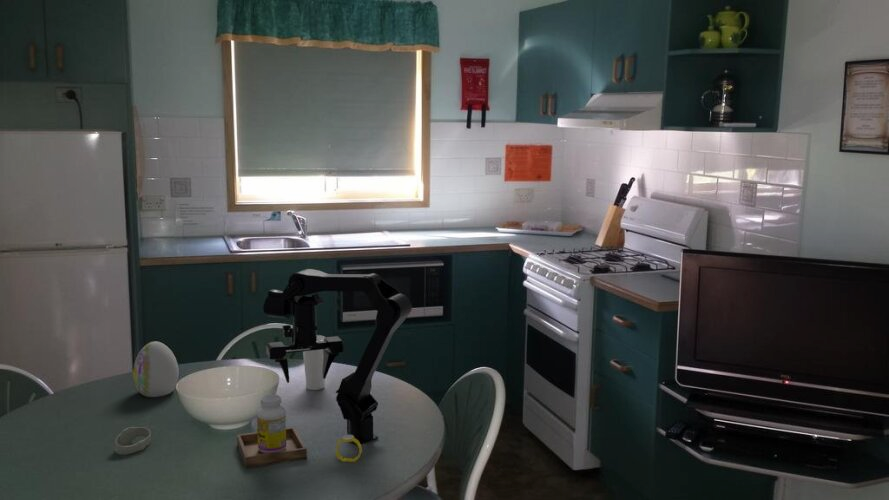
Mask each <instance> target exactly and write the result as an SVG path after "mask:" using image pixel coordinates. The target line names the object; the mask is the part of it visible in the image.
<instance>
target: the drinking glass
mask: <svg viewBox="0 0 889 500" xmlns="http://www.w3.org/2000/svg"><path fill="white" fill-rule="evenodd" d="M325 337H326V336H324V335H320V334H317V342H324V338H325ZM302 354H303V355H302V356H303V365H304V366H303V367H304V373H305V385H306V386H305V387H306V388H307V390H310V391H319V390H322V389H324V388H325V386H326V385H325V384H326V382H325V380H326V378H325V379H324V378H323V358H324V355H323V349H321V350H311V351H302Z"/></svg>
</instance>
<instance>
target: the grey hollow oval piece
mask: <svg viewBox="0 0 889 500" xmlns="http://www.w3.org/2000/svg"><path fill="white" fill-rule="evenodd" d="M151 434H152V431H151V430H150V429H149V428H148V427H143V426H138V427H137V426H134V427H133V426H129V427H127V428H124V429H122V431H121V432H120V433H119V434H118V435H117V437H116V438H115V442H114V443H115V447H114V450H115V451H114V452H115V453H116V454H119V455H129V454H130V455H131V454H134V453H137V452H139V451H142V450H145V449H146V447H148V445H150V443H151ZM139 437H145V438H143V439H142V440H139V441H137V442H136V443H134V444H132V443H133V441H134V440H136V439H137V438H139Z"/></svg>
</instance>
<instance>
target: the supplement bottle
mask: <svg viewBox="0 0 889 500" xmlns="http://www.w3.org/2000/svg"><path fill="white" fill-rule="evenodd" d="M281 404H282V398H281V396H280V395H278V394H268V395H263V396H261V398H260V405H261V407H260V408H258V410H257V412H256V425H257V427H256V428H257V429H256V430H257V431H256V432H258V450H259V451H260V452H262V453H264V454H266V453H273V452H279V451H284V450H285V448H286V428H287V421H286V418H287V416H286V413H287V412H286V409H285V407H284V406H282V405H281Z"/></svg>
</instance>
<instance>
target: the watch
mask: <svg viewBox="0 0 889 500" xmlns="http://www.w3.org/2000/svg"><path fill="white" fill-rule="evenodd" d="M351 441H353V442H355V443H356V444H355V445H357V447H358V450H359V452H358V455H356V456H355V457H354V458H352V457H351V458H349V457H343V456H342V455H341V454H340V453H339V450H338V449H339V445H340V443H342V442H344V443H352V442H351ZM362 451H363V449H362V444H360V442H359V441H358V440H357V439H355V438H354V436H353V435H347V434H344V435H342V437H341V438H340V439H339V440H338V441H337V443H336V445H335V451H334V453H335V456H336V458H337V459H338V460H339V461H341V462H343V463H344V462H345V463H346V462H353V463H355V462H356V461H358V460H359V459H360V457H361V456H362V455H361V454H362Z"/></svg>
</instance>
